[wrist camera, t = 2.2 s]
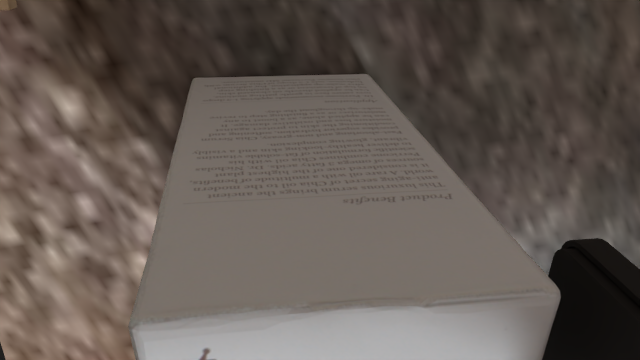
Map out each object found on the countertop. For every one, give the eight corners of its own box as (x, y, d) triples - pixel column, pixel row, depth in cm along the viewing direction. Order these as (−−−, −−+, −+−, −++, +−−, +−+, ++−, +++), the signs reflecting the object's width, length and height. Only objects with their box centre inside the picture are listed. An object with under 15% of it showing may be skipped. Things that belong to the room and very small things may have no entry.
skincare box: (201, 191, 19) (155, 534, 8) (191, 74, 17) (112, 319, 7) (367, 183, 20) (519, 487, 9) (374, 70, 18) (574, 284, 7)
